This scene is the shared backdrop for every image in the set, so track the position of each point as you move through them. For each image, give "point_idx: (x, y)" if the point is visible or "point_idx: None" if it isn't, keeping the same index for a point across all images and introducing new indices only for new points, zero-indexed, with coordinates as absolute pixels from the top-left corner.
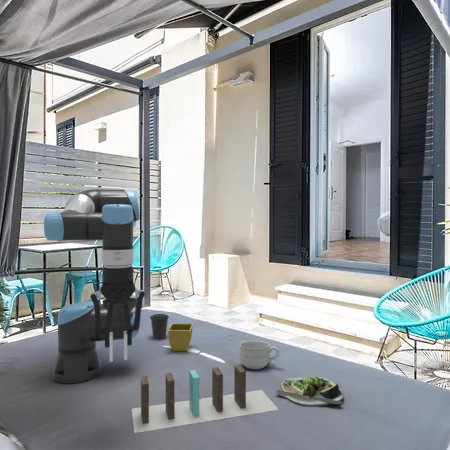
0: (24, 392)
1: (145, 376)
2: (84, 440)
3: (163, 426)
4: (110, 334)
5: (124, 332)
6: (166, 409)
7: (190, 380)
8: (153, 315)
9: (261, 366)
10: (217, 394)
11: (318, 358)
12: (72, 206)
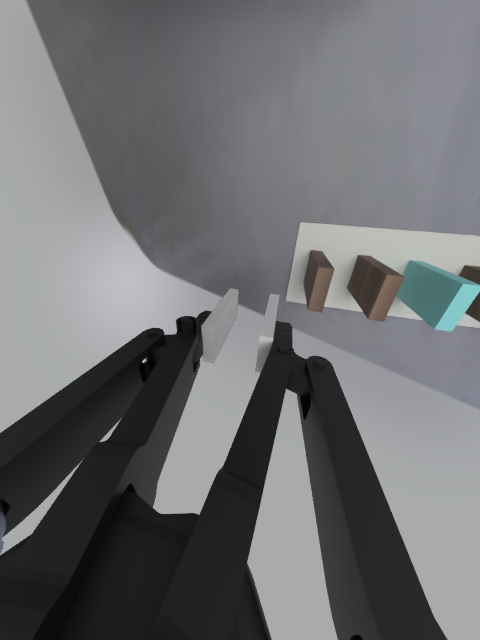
0: (70, 15)
1: (329, 272)
2: (221, 286)
3: (330, 303)
4: (205, 350)
5: (260, 352)
6: (356, 268)
7: (440, 290)
8: None
9: None
10: (469, 315)
11: None
12: None
